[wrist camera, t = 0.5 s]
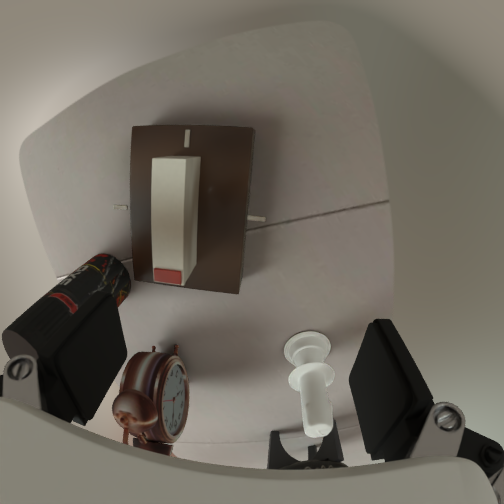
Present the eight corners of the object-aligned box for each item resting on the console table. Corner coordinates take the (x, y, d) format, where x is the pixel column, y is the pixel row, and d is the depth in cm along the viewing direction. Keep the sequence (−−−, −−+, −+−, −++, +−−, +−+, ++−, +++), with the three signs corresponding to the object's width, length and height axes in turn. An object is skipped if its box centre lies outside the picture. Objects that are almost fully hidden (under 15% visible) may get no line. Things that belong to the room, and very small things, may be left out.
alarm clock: (196, 392, 34) (170, 486, 20) (163, 388, 34) (130, 476, 20) (181, 330, 30) (134, 439, 16) (143, 327, 30) (86, 424, 16)
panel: (131, 128, 23) (115, 127, 20) (274, 132, 22) (274, 129, 19) (132, 265, 28) (119, 279, 25) (258, 281, 27) (256, 297, 24)
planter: (258, 449, 39) (252, 537, 23) (274, 410, 34) (271, 524, 18) (329, 452, 39) (337, 534, 23) (358, 413, 35) (379, 514, 18)
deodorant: (109, 244, 27) (13, 320, 13) (140, 289, 29) (67, 386, 15) (79, 267, 28) (-5, 339, 14) (108, 308, 30) (39, 394, 16)
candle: (315, 322, 29) (334, 411, 18) (338, 351, 30) (359, 435, 19) (274, 345, 30) (274, 434, 19) (299, 371, 31) (306, 455, 20)
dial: (171, 155, 20) (150, 158, 17) (201, 156, 20) (185, 158, 16) (170, 261, 24) (152, 283, 20) (196, 264, 24) (183, 287, 20)
